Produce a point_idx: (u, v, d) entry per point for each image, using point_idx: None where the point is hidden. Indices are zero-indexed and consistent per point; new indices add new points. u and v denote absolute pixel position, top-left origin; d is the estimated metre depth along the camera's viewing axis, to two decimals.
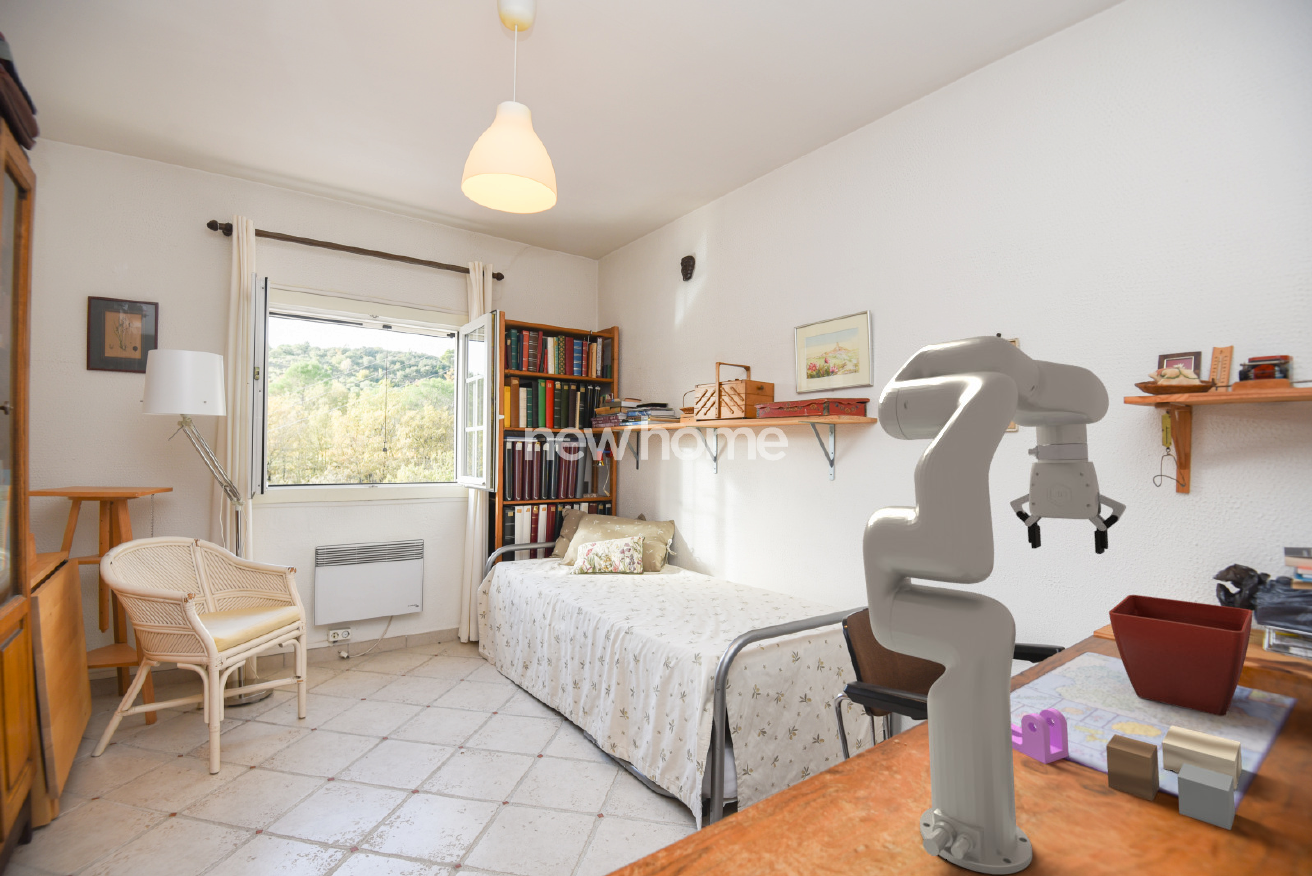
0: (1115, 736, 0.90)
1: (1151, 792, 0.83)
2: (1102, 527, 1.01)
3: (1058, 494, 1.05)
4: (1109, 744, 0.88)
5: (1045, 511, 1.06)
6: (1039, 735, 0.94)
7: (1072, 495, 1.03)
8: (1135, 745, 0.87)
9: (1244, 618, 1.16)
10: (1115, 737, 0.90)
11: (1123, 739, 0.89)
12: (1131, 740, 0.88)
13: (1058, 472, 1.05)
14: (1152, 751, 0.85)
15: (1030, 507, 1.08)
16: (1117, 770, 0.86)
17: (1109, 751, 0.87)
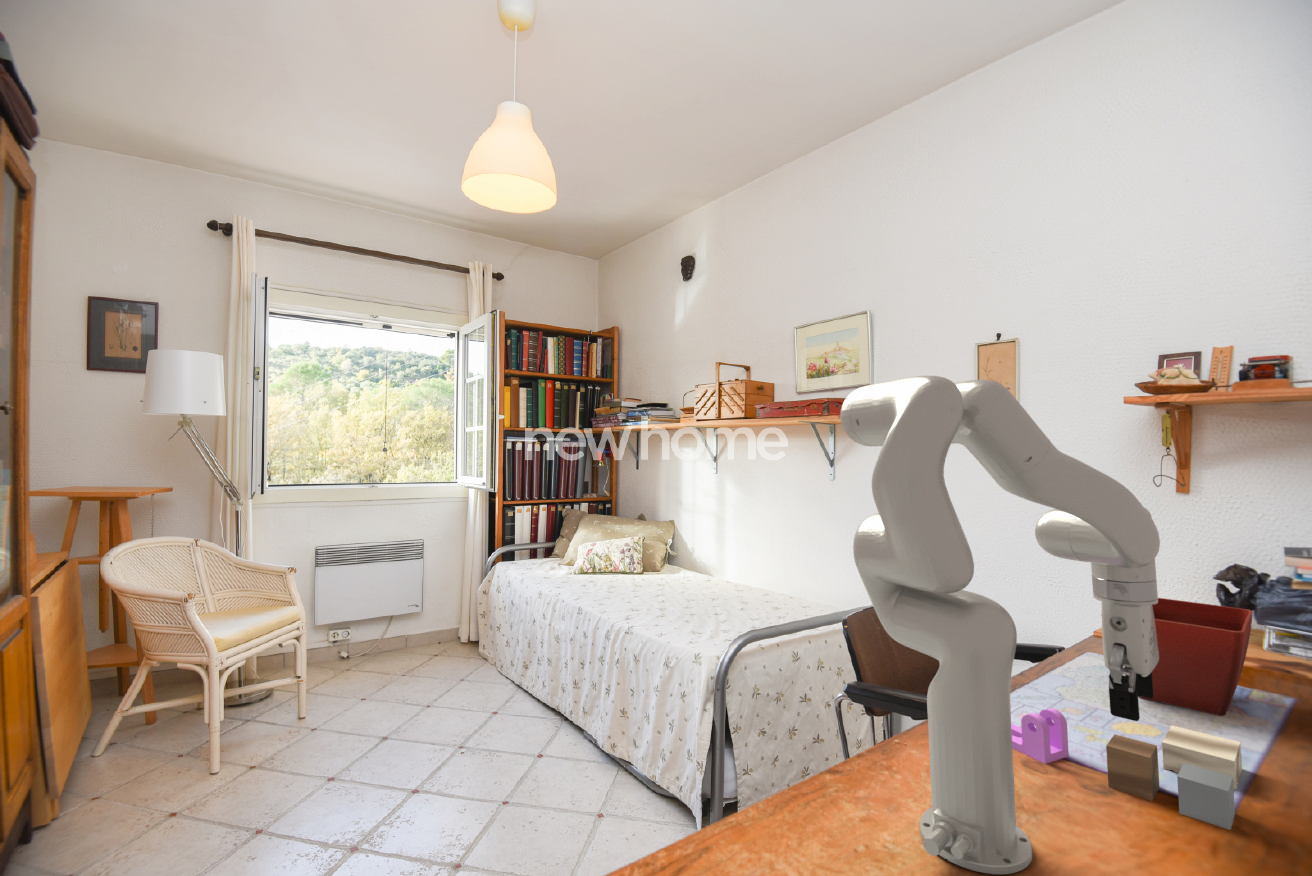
0: (1115, 736, 0.90)
1: (1151, 792, 0.83)
2: None
3: (1152, 641, 0.85)
4: (1109, 744, 0.88)
5: (1150, 667, 0.84)
6: (1039, 735, 0.94)
7: (1154, 638, 0.87)
8: (1135, 745, 0.87)
9: (1244, 618, 1.16)
10: (1115, 737, 0.90)
11: (1123, 739, 0.89)
12: (1131, 740, 0.88)
13: (1149, 613, 0.85)
14: (1152, 751, 0.85)
15: (1144, 667, 0.82)
16: (1117, 769, 0.86)
17: (1109, 751, 0.87)
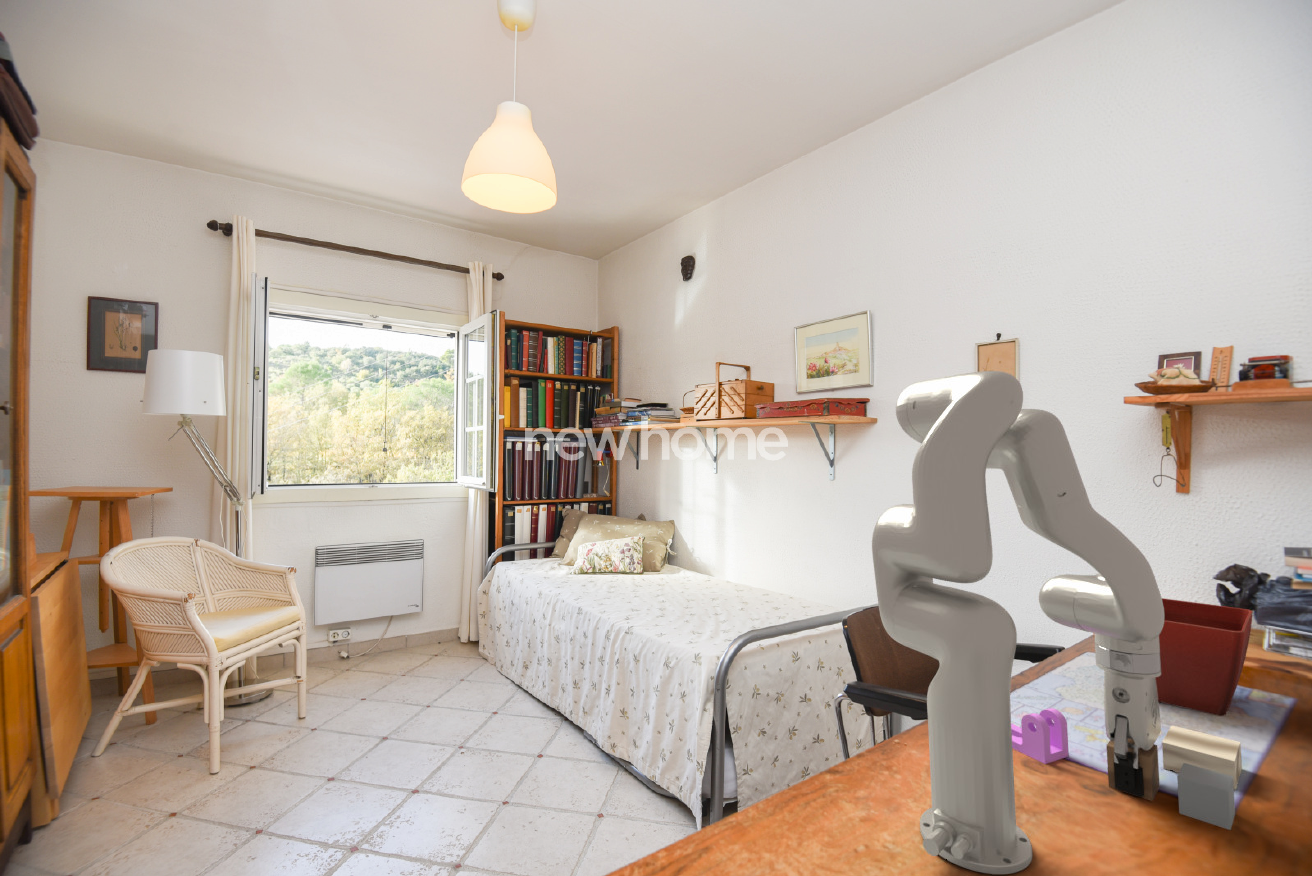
0: None
1: (1151, 792, 0.83)
2: None
3: (1154, 713, 0.85)
4: (1109, 744, 0.87)
5: (1152, 740, 0.83)
6: (1039, 735, 0.94)
7: (1156, 709, 0.86)
8: None
9: (1244, 618, 1.16)
10: None
11: None
12: (1132, 740, 0.88)
13: (1152, 685, 0.85)
14: (1152, 751, 0.85)
15: (1145, 741, 0.82)
16: None
17: (1109, 751, 0.87)
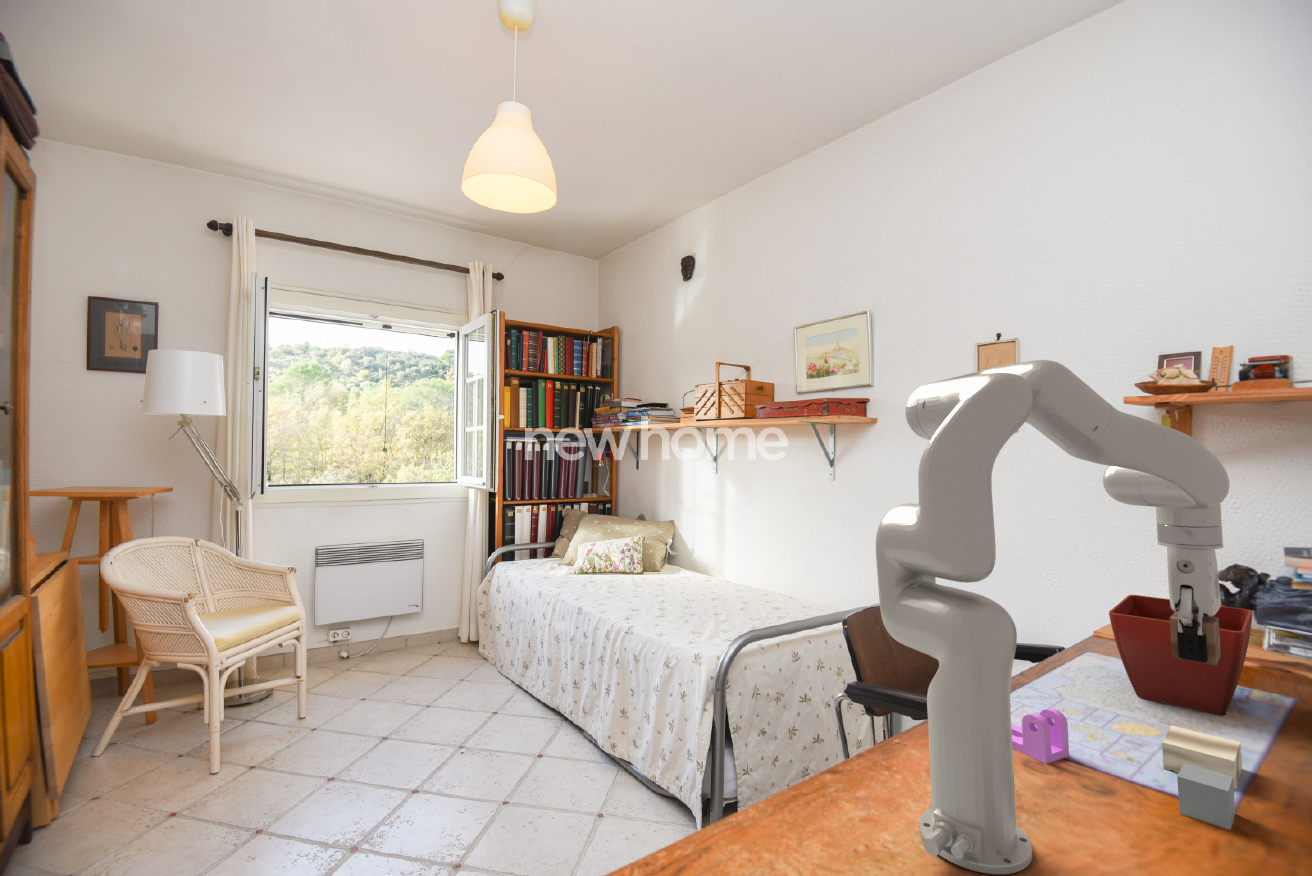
0: (1176, 612, 0.94)
1: (1215, 657, 0.88)
2: None
3: (1216, 584, 0.89)
4: (1172, 617, 0.92)
5: (1215, 608, 0.88)
6: (1040, 735, 0.94)
7: (1218, 582, 0.91)
8: None
9: (1244, 618, 1.16)
10: (1176, 613, 0.94)
11: None
12: None
13: (1214, 558, 0.90)
14: (1214, 620, 0.90)
15: (1210, 607, 0.87)
16: None
17: (1172, 623, 0.91)
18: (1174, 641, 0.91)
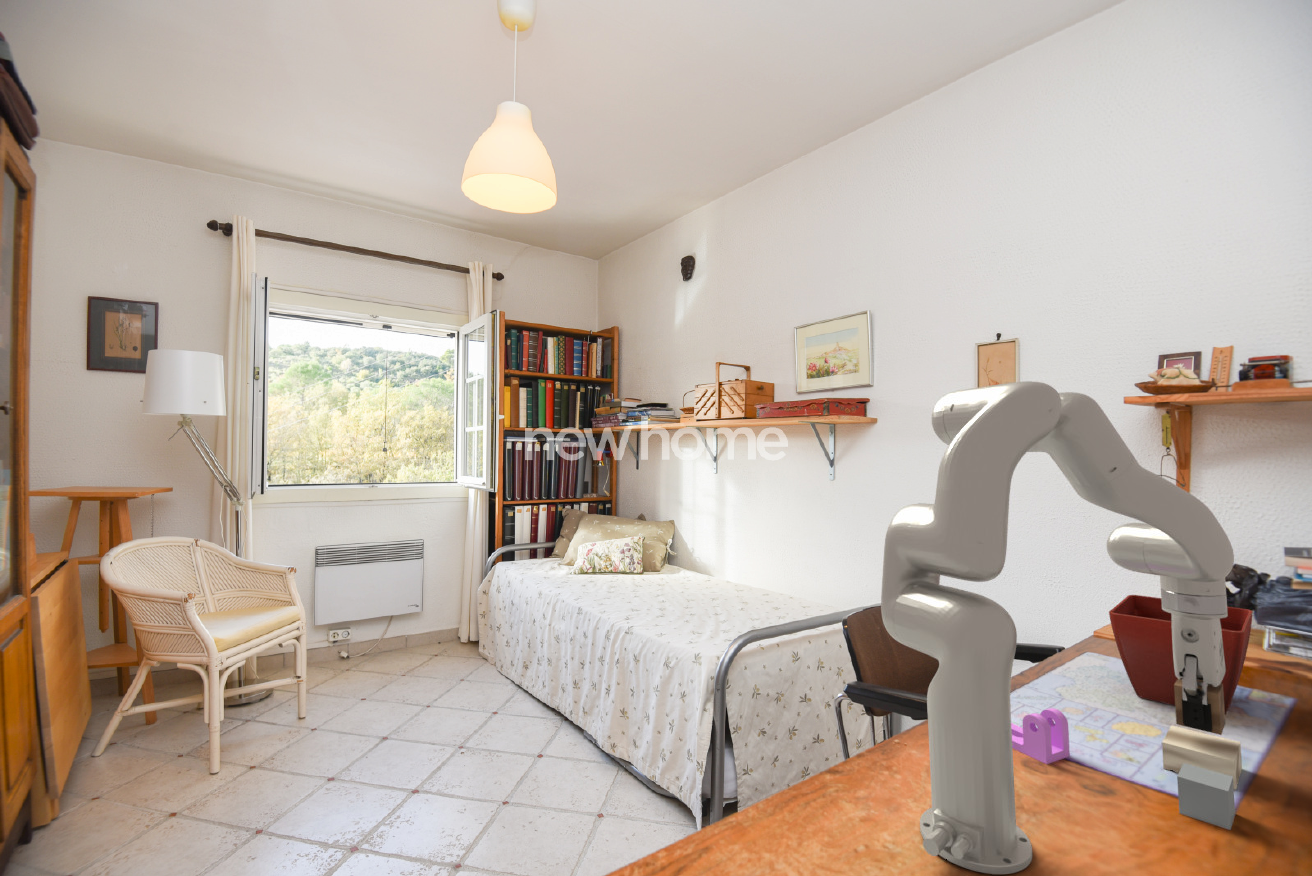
0: None
1: (1220, 726, 0.88)
2: None
3: (1221, 653, 0.89)
4: (1176, 683, 0.92)
5: (1220, 677, 0.88)
6: (1041, 735, 0.94)
7: (1222, 650, 0.91)
8: None
9: (1244, 618, 1.16)
10: None
11: None
12: (1197, 680, 0.93)
13: (1219, 626, 0.89)
14: (1219, 688, 0.89)
15: (1215, 677, 0.86)
16: None
17: (1177, 690, 0.91)
18: (1179, 708, 0.91)
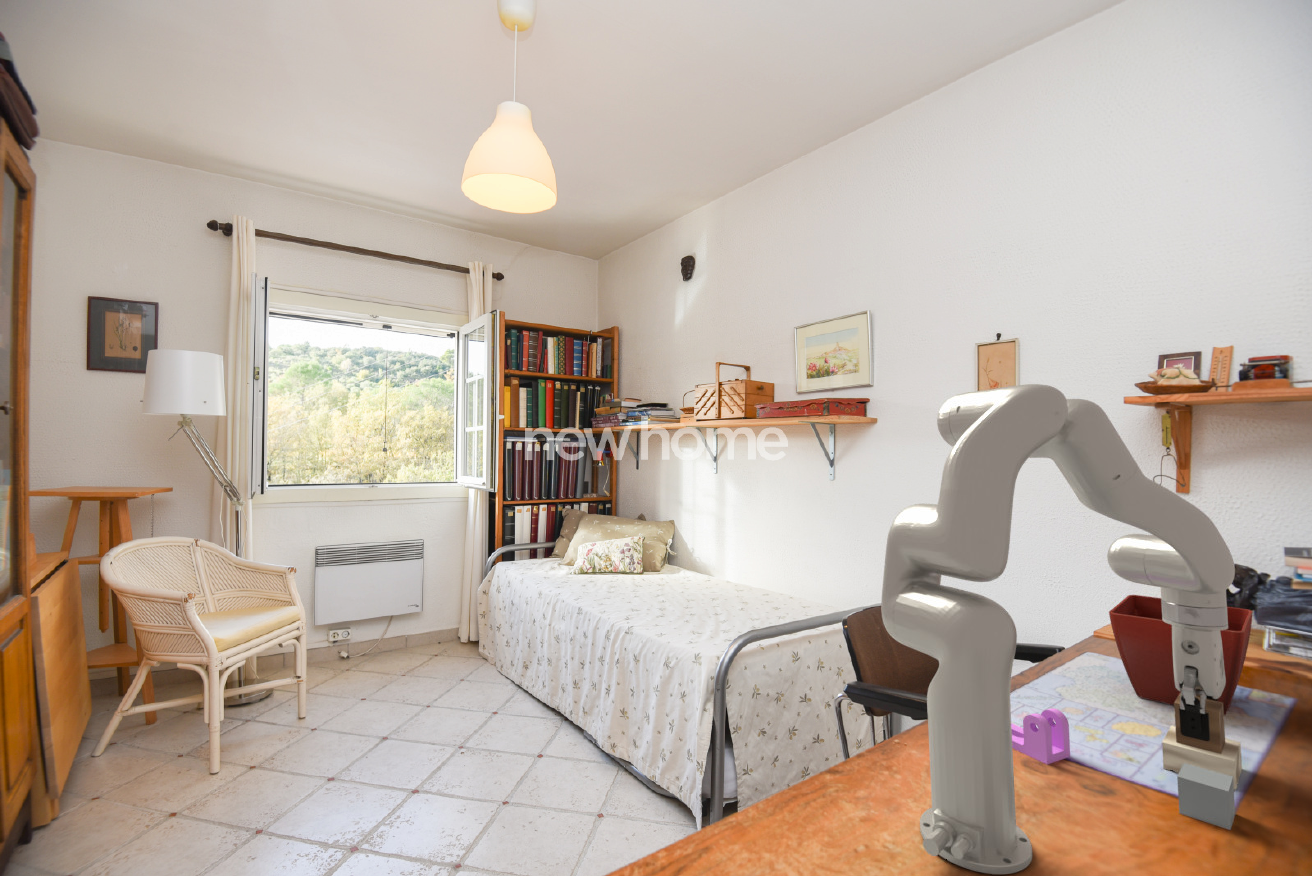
0: None
1: (1220, 745, 0.88)
2: None
3: (1221, 665, 0.89)
4: (1176, 701, 0.92)
5: (1220, 689, 0.88)
6: (1041, 735, 0.94)
7: (1222, 662, 0.90)
8: None
9: (1244, 618, 1.16)
10: None
11: None
12: None
13: (1219, 638, 0.89)
14: (1219, 707, 0.89)
15: (1215, 689, 0.86)
16: None
17: (1177, 708, 0.91)
18: (1179, 726, 0.91)
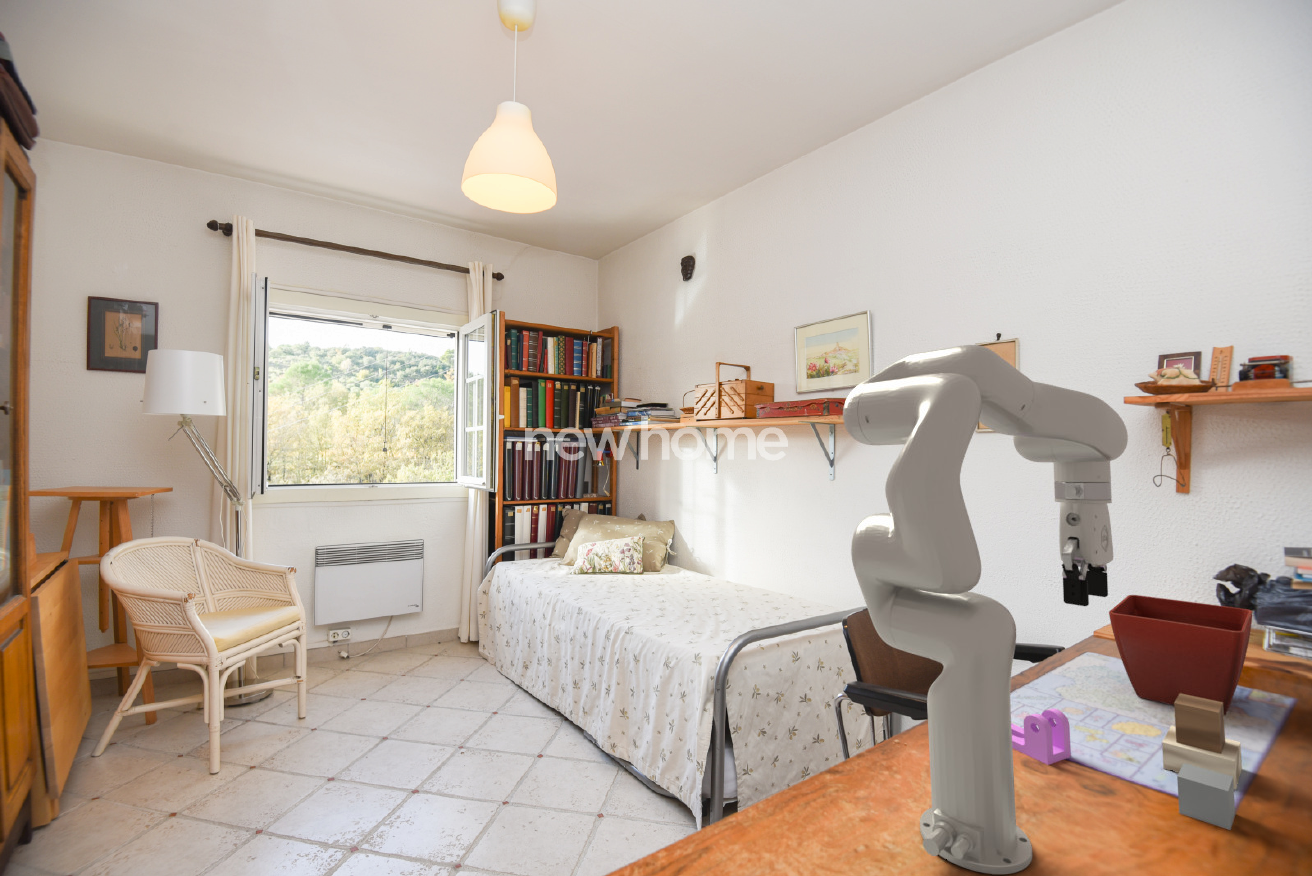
0: (1181, 695, 0.94)
1: (1220, 745, 0.88)
2: (1105, 568, 0.99)
3: (1105, 538, 0.94)
4: (1176, 701, 0.92)
5: (1101, 559, 0.93)
6: (1042, 736, 0.94)
7: (1108, 537, 0.95)
8: (1201, 702, 0.91)
9: (1244, 618, 1.16)
10: (1181, 696, 0.94)
11: (1189, 697, 0.93)
12: (1197, 698, 0.92)
13: (1103, 513, 0.94)
14: (1219, 707, 0.89)
15: (1094, 557, 0.91)
16: (1185, 725, 0.90)
17: (1177, 708, 0.91)
18: (1179, 726, 0.91)
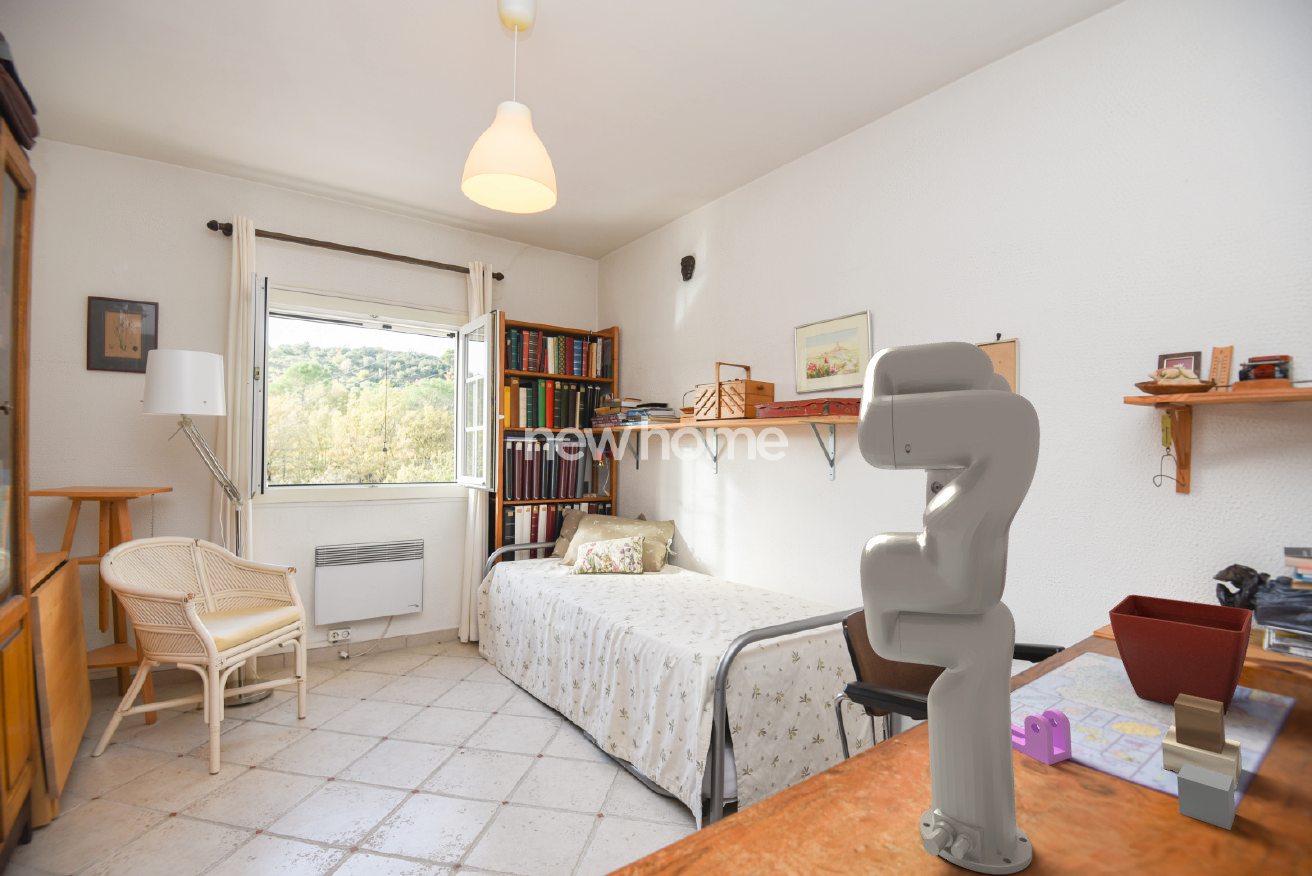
0: (1181, 695, 0.94)
1: (1220, 745, 0.88)
2: None
3: None
4: (1176, 701, 0.92)
5: None
6: (1043, 736, 0.94)
7: None
8: (1201, 702, 0.91)
9: (1244, 618, 1.16)
10: (1181, 696, 0.94)
11: (1189, 697, 0.93)
12: (1197, 698, 0.92)
13: None
14: (1219, 707, 0.89)
15: None
16: (1185, 725, 0.90)
17: (1177, 708, 0.91)
18: (1179, 726, 0.91)
